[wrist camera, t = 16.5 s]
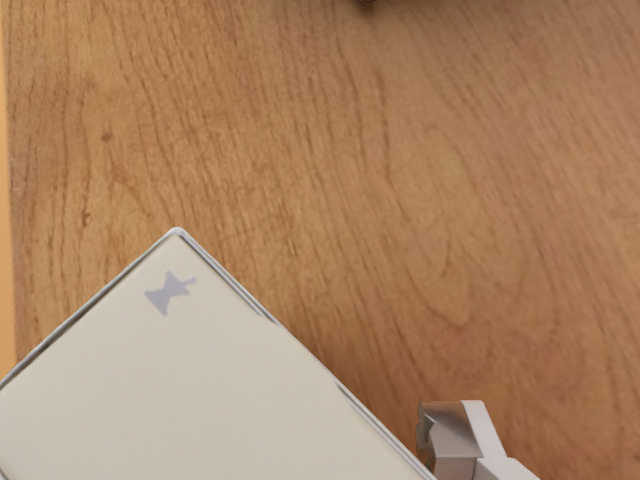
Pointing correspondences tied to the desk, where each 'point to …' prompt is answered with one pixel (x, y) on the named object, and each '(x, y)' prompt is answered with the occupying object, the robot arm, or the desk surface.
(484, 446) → the robot arm
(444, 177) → the desk surface
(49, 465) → the cosmetic box
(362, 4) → the drawer
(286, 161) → the desk surface
